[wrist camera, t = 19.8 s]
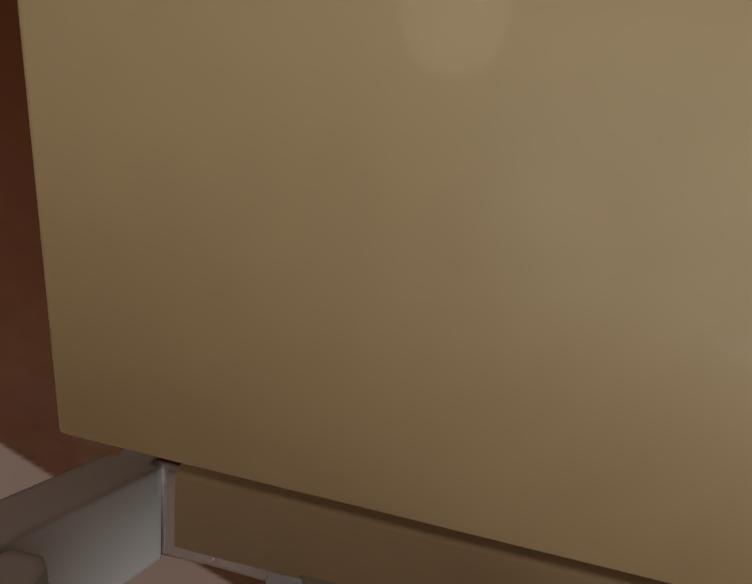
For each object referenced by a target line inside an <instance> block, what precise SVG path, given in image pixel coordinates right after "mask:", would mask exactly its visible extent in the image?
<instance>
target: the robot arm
mask: <svg viewBox="0 0 752 584" xmlns="http://www.w3.org/2000/svg"><path fill="white" fill-rule="evenodd" d="M180 465H181V463H179V462H175V461H171V460H167V459H163V458H159V457H155V456H151V455H147V454H143V453H139V452H135V451H131V450H127V449H122V451H121V452H120V453H119V454H118V456H115V455H111V454H107V455H104V456H102V457H100V458H97V459H95V460H93V461H90V462H88V463H86V464H83V465H81V466H79V467H76V468H74V469H71V470H69V471H67V472H64V473H62V474H60V475H57V476H55V477H53V478H50V479H48V480H46V481H43V482H41V483H39V484H36V485H34V486H32V487H29V488H27V489H24V490H22V491H20V492H17V493H15V494H13V495H10V496H8V497H6V498H3V499H1V500H0V584H126V583H127V582H128V581H130V580H131V579H133V578H134V577H135V576H137V575H138V574H139V573H141V572H142V571H144V570H145V569H146V568H148V567H149V566H150V565H152V564H153V563H155V562H156V561H157V560H159V559H160V558H161V554H162V555H166V556H170V557H175V558H179V559H184V560H188V561H193V562H197V563H202V564H206V565H211V566H215V567H218V568H222V569H225V570H229V571H232V572H236V573H239V574H243V575H246V576H250V577H253V578H257V579H260V580H264V581H266V582H265V584H336V583H332V582H328V581H325V580H321V579H317V578H312V577H308V576H304V575H300V578H299V579H297V578H293V577H289V576H285V575H281V574H277V573H273V572H270V571H266V570H262V569H258V568H254V567H250V566H246V565H242V564H238V563H234V562H230V561H227V560H223V559H219V558H215V557H211V556H207V555H203V554H199V553H195V552H191V551H188V550H184V549H180V548H177V547H176V546H175V545H174V504H175V473H176V471H177V470H178V468H179V467H180Z"/></svg>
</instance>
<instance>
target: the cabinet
mask: <svg viewBox="0 0 752 584" xmlns="http://www.w3.org/2000/svg"><path fill="white" fill-rule="evenodd" d="M17 2H18V12H19V23H20V33H21V43H22V53H23V63H24V73H25V83H26V93H27V103H28V114H29V124H30V134H31V144H32V154H33V164H34V174H35V184H36V195H37V205H38V215H39V225H40V235H41V245H42V255H43V265H44V276H45V286H46V296H47V306H48V316H49V326H50V336H51V346H52V357H53V367H54V377H55V387H56V397H57V407H58V417H59V427H60V431H61V432H62V433H63V434H66V435H70V436H74V437H78V438H82V439H86V440H90V441H94V442H98V443H102V444H106V445H110V446H114V447H118V448H122V449H127V450H131V451H135V452H139V453H143V454H147V455H151V456H155V457H159V458H163V459H167V460H171V461H175V462H179V463H183V464H187V465H191V466H195V467H200V468H204V469H208V470H212V471H216V472H220V473H224V474H228V475H232V476H236V477H240V478H244V479H248V480H252V481H256V482H260V483H264V484H269V485H273V486H277V487H281V488H285V489H289V490H293V491H297V492H301V493H305V494H309V495H313V496H317V497H321V498H325V499H329V500H333V501H337V502H342V503H346V504H350V505H354V506H358V507H362V508H366V509H370V510H374V511H378V512H382V513H386V514H390V515H394V516H398V517H402V518H406V519H410V520H415V521H419V522H423V523H427V524H431V525H435V526H439V527H443V528H447V529H451V530H455V531H459V532H463V533H467V534H471V535H475V536H479V537H484V538H488V539H492V540H496V541H500V542H504V543H508V544H512V545H516V546H520V547H524V548H528V549H532V550H536V551H540V552H544V553H548V554H552V555H557V556H561V557H565V558H569V559H573V560H577V561H581V562H585V563H589V564H593V565H597V566H601V567H605V568H609V569H613V570H617V571H621V572H625V573H630V574H634V575H638V576H642V577H646V578H650V579H654V580H658V581H662V582H666V583H670V584H752V0H17Z"/></svg>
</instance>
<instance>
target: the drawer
mask: <svg viewBox="0 0 752 584" xmlns="http://www.w3.org/2000/svg"><path fill="white" fill-rule="evenodd" d="M174 545H175V546H176V547H177V548H180V549H184V550H188V551H191V552H195V553H199V554H203V555H207V556H211V557H215V558H219V559H223V560H227V561H230V562H234V563H238V564H242V565H246V566H250V567H254V568H258V569H262V570H266V571H270V572H273V573H277V574H281V575H285V576H289V577H293V578H297V579H299V578H300V575H304V576H308V577H312V578H317V579H321V580H325V581H328V582H332V583H336V584H670V583H666V582H662V581H658V580H654V579H650V578H646V577H642V576H638V575H634V574H630V573H625V572H621V571H617V570H613V569H609V568H605V567H601V566H597V565H593V564H589V563H585V562H581V561H577V560H573V559H569V558H565V557H561V556H557V555H552V554H548V553H544V552H540V551H536V550H532V549H528V548H524V547H520V546H516V545H512V544H508V543H504V542H500V541H496V540H492V539H488V538H484V537H479V536H475V535H471V534H467V533H463V532H459V531H455V530H451V529H447V528H443V527H439V526H435V525H431V524H427V523H423V522H419V521H415V520H410V519H406V518H402V517H398V516H394V515H390V514H386V513H382V512H378V511H374V510H370V509H366V508H362V507H358V506H354V505H350V504H346V503H342V502H337V501H333V500H329V499H325V498H321V497H317V496H313V495H309V494H305V493H301V492H297V491H293V490H289V489H285V488H281V487H277V486H273V485H269V484H264V483H260V482H256V481H252V480H248V479H244V478H240V477H236V476H232V475H228V474H224V473H220V472H216V471H212V470H208V469H204V468H200V467H195V466H191V465H187V464H183V463H181V465H180V467H179V468H178V470H177V471H176V473H175V504H174Z"/></svg>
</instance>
